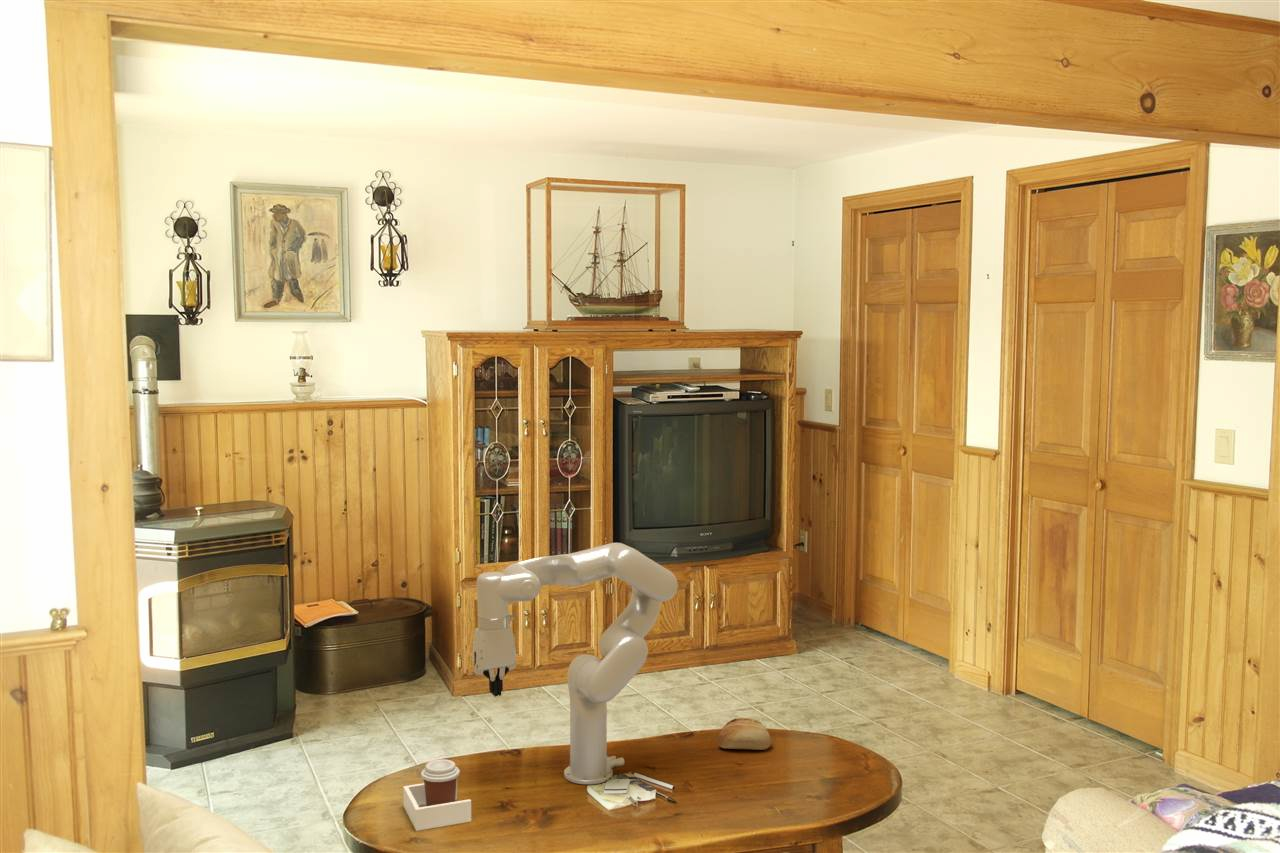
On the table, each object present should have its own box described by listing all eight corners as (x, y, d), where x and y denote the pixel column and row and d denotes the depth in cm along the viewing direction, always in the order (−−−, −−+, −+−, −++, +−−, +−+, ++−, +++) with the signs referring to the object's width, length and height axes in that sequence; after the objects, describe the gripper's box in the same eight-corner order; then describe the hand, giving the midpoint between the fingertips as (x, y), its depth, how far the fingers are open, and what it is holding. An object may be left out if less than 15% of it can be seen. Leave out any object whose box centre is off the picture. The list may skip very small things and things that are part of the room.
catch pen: (456, 797, 272) (456, 778, 272) (471, 821, 259) (471, 800, 259) (403, 806, 267) (403, 786, 267) (416, 830, 254) (415, 809, 254)
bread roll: (714, 742, 311) (715, 714, 311) (767, 741, 312) (767, 713, 312) (719, 755, 302) (720, 726, 301) (773, 754, 303) (774, 725, 302)
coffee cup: (442, 825, 257) (441, 775, 256) (413, 815, 262) (412, 766, 261) (468, 811, 265) (467, 762, 264) (439, 802, 270) (439, 754, 269)
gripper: (516, 614, 279) (519, 685, 281) (459, 623, 273) (462, 695, 275) (527, 621, 273) (529, 693, 274) (469, 630, 266) (472, 704, 268)
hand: (496, 694), depth 275 cm, fingers closed
